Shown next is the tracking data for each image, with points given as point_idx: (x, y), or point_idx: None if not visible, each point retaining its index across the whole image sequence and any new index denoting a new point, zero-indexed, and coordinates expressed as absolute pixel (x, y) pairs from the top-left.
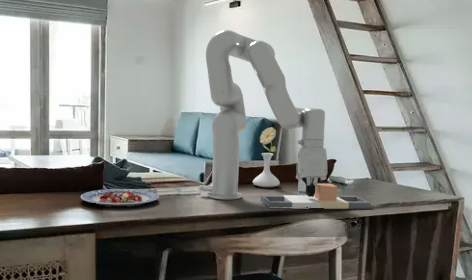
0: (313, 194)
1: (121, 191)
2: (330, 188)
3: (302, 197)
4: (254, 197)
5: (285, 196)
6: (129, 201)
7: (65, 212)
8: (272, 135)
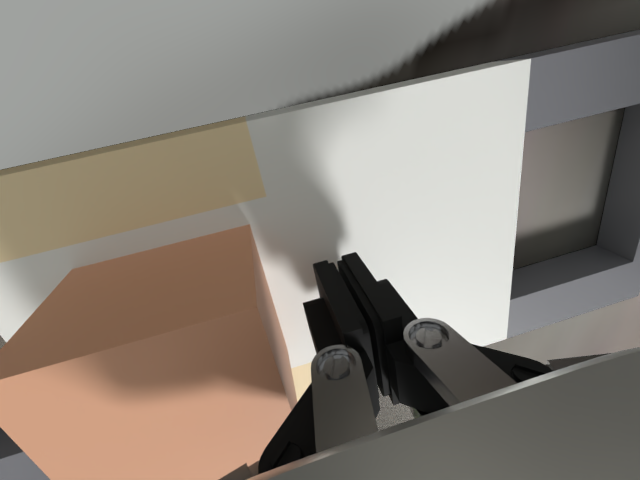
0: (321, 271)
1: None
2: (100, 332)
3: None
4: (596, 347)
5: (499, 307)
6: None
7: None
8: None
